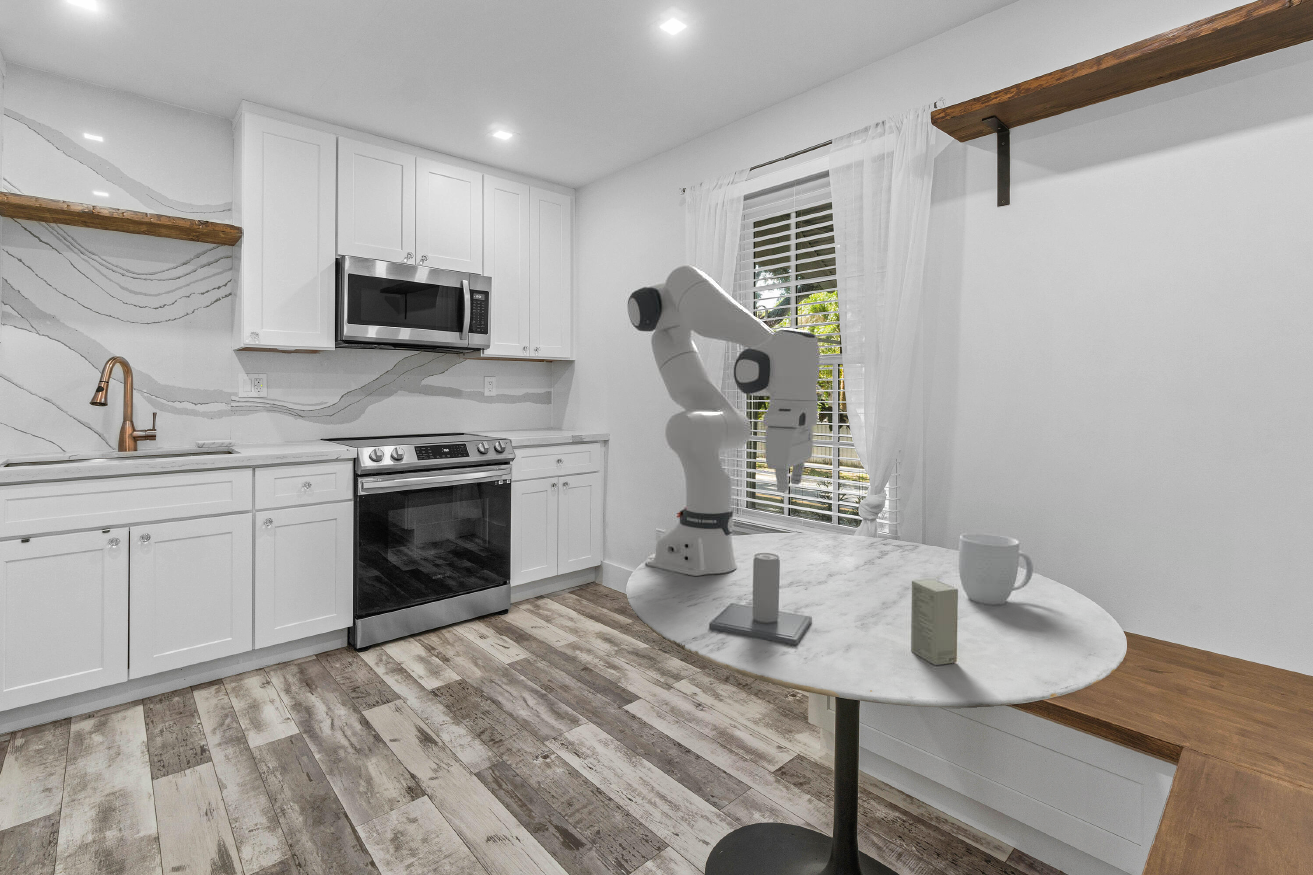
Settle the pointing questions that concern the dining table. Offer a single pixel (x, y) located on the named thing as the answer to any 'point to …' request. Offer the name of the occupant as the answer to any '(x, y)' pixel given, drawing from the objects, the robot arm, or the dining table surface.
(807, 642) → the dining table surface
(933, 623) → the skincare box
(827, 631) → the dining table surface
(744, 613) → the slate coaster
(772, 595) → the beverage can
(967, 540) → the mug
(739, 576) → the dining table surface
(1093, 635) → the dining table surface
